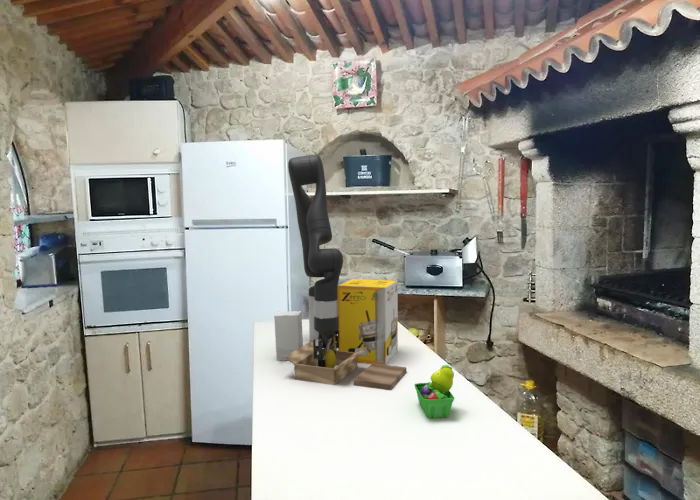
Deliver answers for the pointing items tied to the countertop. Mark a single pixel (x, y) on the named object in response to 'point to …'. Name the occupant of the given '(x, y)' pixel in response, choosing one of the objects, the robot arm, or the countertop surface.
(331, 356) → the lemon
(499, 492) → the countertop surface
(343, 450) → the countertop surface
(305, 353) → the carton
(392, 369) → the walnut board
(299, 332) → the skincare box
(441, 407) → the fruit basket
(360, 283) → the packaging box
